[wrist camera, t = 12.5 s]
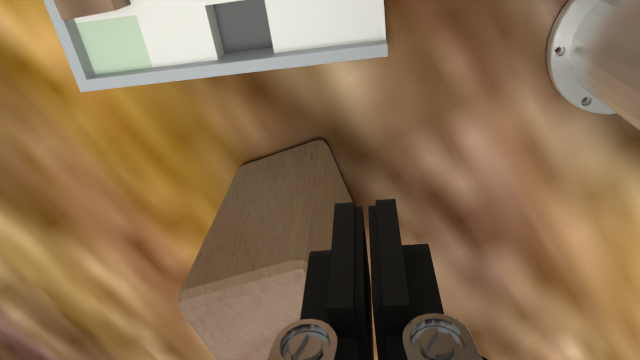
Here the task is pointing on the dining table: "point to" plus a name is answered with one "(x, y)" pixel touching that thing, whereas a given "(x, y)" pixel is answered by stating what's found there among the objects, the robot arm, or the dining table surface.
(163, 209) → the dining table surface
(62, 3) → the walnut block
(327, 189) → the block
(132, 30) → the trap box
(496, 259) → the dining table surface
